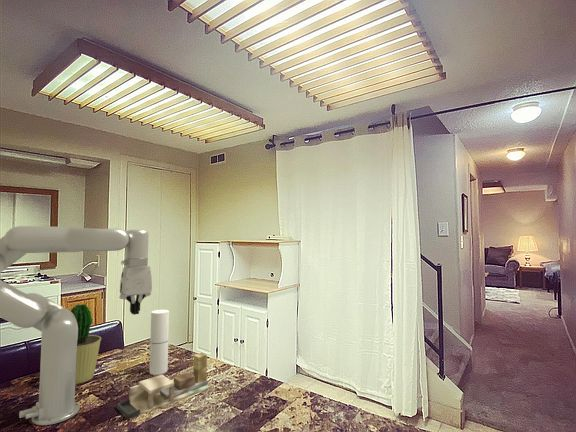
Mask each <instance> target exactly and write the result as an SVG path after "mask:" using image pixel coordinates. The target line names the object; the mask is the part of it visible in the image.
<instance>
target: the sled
mask: <svg viewBox="0 0 576 432" xmlns="http://www.w3.org/2000/svg"><path fill="white" fill-rule="evenodd" d="M207 359H208V355H207V354H206V353H203V352H200V353H196V354H193V366H192V367H193V368H192V369H193V372H192V373H193V374H192V373H190V372H186V373H182V374H180V375H179V374H178V375H177V376H176V375H175V376H173V380H172V381H173V382H174V396H176V395H179V394H182V393H184V392H187V391H190V390H193V389H195V388H198V387H201V386H204V385H206V384H207V385H208V384H209V380H207V373H208V372H207V368H208V367H207V366H208V365H207V364H208V360H207ZM160 394H161V395H162V396H164V397H165V398H166V399H168V398H169V388H166V389H163V390H160Z"/></svg>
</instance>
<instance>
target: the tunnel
mask: <svg viewBox="0 0 576 432" xmlns="http://www.w3.org/2000/svg"><path fill="white" fill-rule="evenodd" d="M173 381H174V380H171V379H170V378H168V377H167V376H165V375H164V374H159V375H155V376H154V377H153V376H152V377H149V378H147V379H143V380H140V381H138V384H137V385H133V386H130V387H129V393H128V395H129V398H128V399H126V400H122V401H119V402H117V403H116V409H117V411H119V413H121V414H122V415H123V417H124V418H125V419H126V420H130V419H132V418H135V417H138V416H141V415H143V414H145V413H149V412H151V411H154V410H156V409H158V408H162V407H164V406H167V405H170V404H172V403H174V402H178V401H181V400H183V399H185V398H189V397H191V396H193V395H196V394H199V393H201V392H204V391H207V390H210V389H211V386H210V385H208V384H206V385H204V386H201V387H198V388H195V389H193V390H190V391H187V392H184V393H182V394H179V395H176V396H174V382H173ZM166 388H169V398H168V399H166V398H165V397H164V396H162V395H161V394H160V390H163V389H166Z"/></svg>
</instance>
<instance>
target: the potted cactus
mask: <svg viewBox="0 0 576 432" xmlns="http://www.w3.org/2000/svg"><path fill="white" fill-rule="evenodd" d="M68 310H69V311H71V312H72V313H73V314H74V316H75V318H76V320H77V324H78V339H77V352H76V377H75V385H78V384H81V383H84V382H87V381H89V380H91V379H93V377H94V376H95V371H96V367H97V366H96V365H97V362H98V361H97V360H98V356H99V350H100V345H101V341H102V337H101V336H99V335H95V334H90V331H92V329H91V328H92V326H91V325H94V322H93V320H94V318H92V316H93V315H92V312H91V311H90V310H91V307H90V305H89V306H88V304H83V303H81V304H75V305H74V306H73V307H72V308H71V309H68Z"/></svg>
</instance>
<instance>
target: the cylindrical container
mask: <svg viewBox="0 0 576 432" xmlns="http://www.w3.org/2000/svg"><path fill="white" fill-rule="evenodd" d="M169 326H170V310H168V309H155V310H152V311H151V313H150V341H149V342H150V344H149V346H150V347H149V348H150V349H149V375H153V376H159V375H164V374H165V373H167V372H168V370H169V369H168V365H169V364H168V363H169V362H168V361H169V336H170V335H169V333H170V332H169Z"/></svg>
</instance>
